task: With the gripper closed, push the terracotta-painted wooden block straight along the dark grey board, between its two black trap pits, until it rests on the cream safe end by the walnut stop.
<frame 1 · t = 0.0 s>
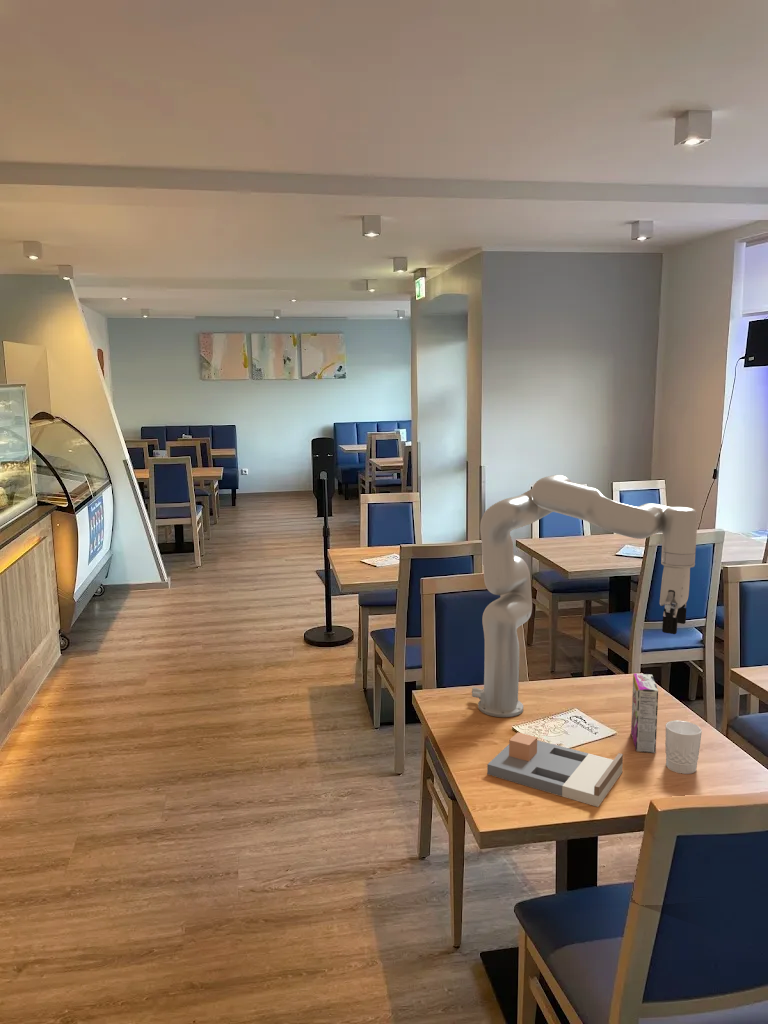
hand: (674, 627, 182), 31 cm above the table, tool pointing down, fingers open, 9 cm apart
candy bar box: (642, 743, 190), on the table
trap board: (554, 773, 175), on the table
block: (522, 754, 179), point 2 cm above the table, touching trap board
white cup: (681, 768, 178), on the table
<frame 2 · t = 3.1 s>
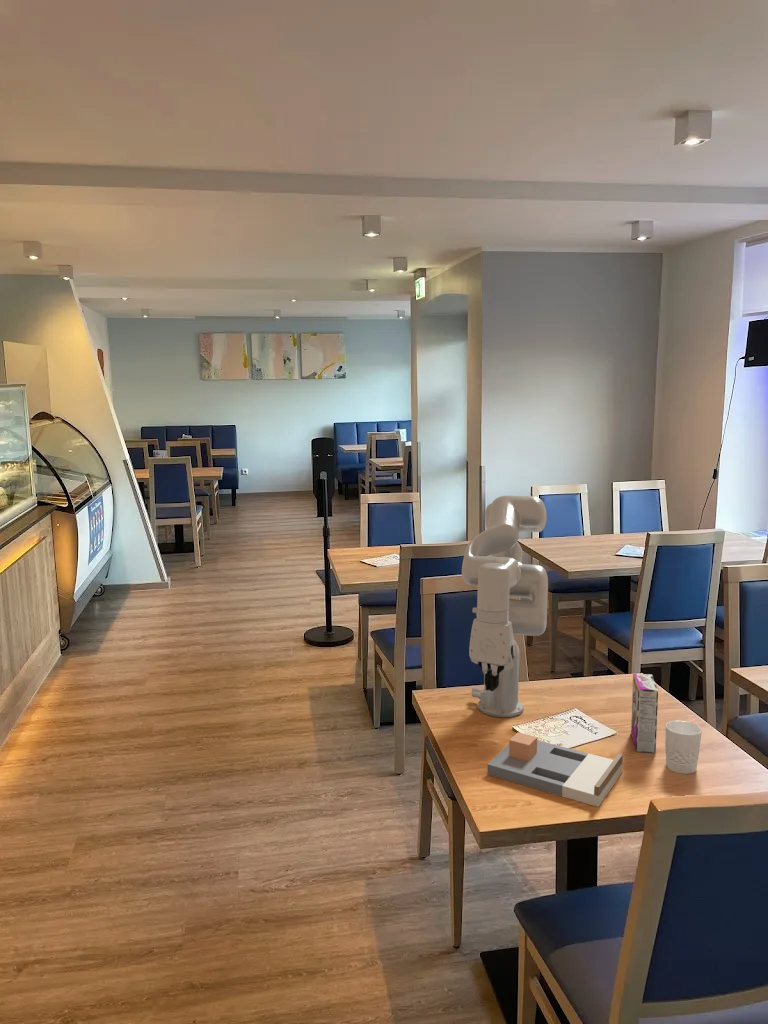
hand: (491, 688, 181), 17 cm above the table, tool pointing down, fingers closed
nothing on the table moved.
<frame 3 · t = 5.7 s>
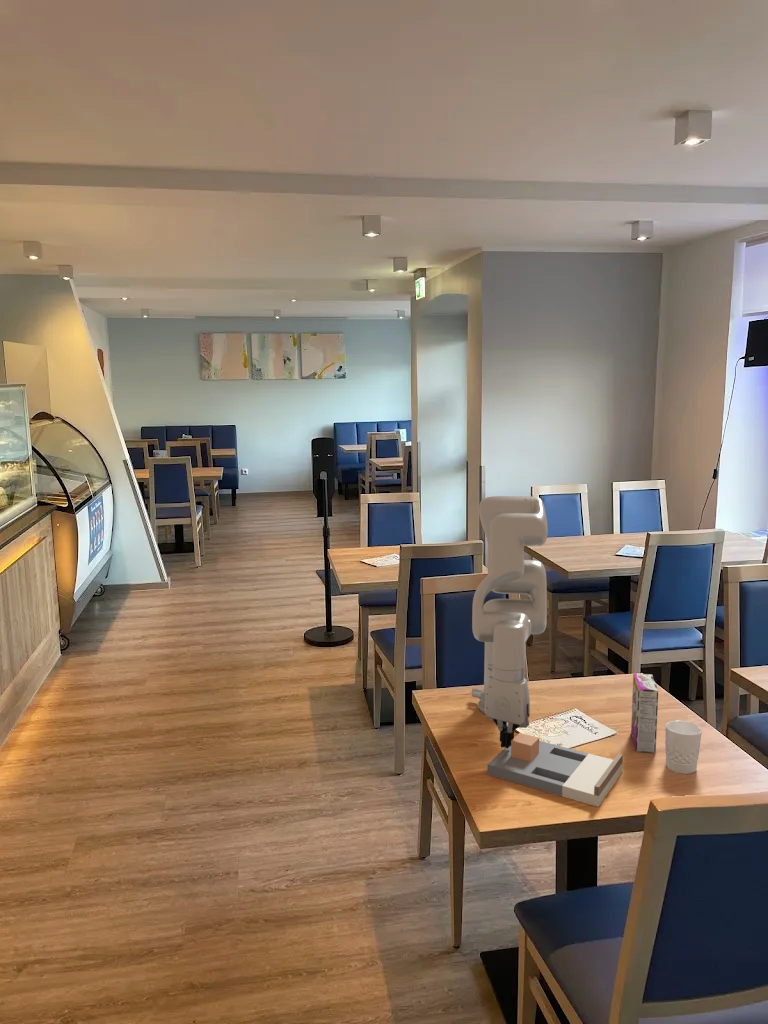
hand: (506, 745, 181), 4 cm above the table, tool pointing down, fingers closed
block: (524, 754, 179), point 2 cm above the table, touching gripper, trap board
everything else where it was.
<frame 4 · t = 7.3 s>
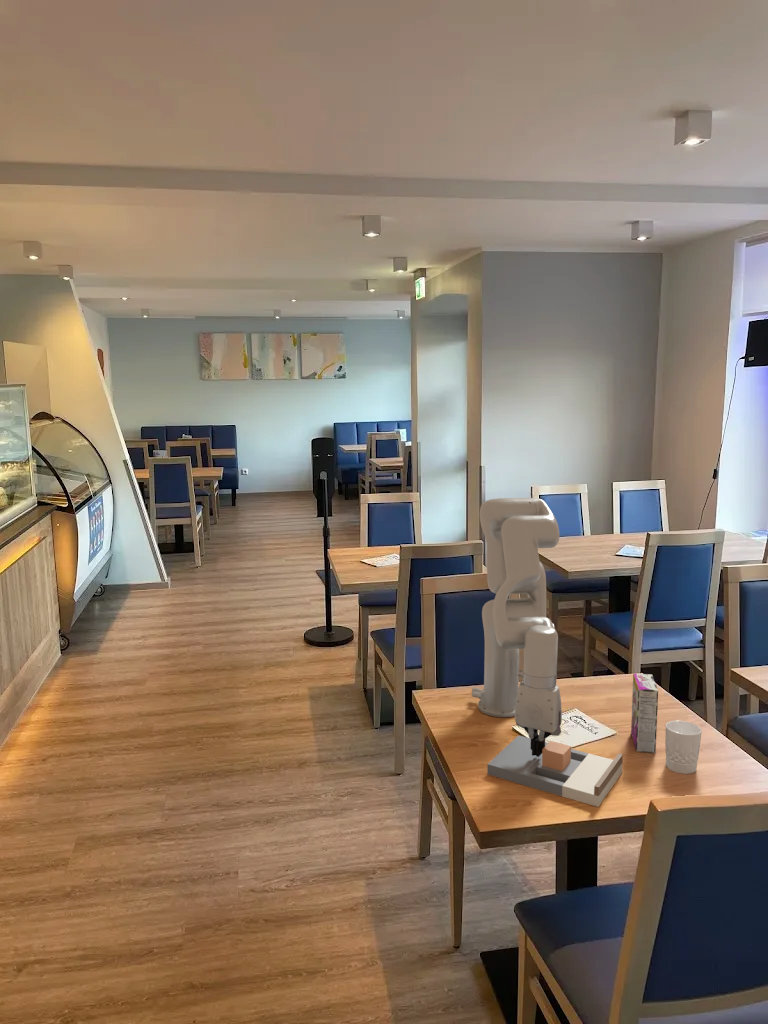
hand: (537, 753, 177), 4 cm above the table, tool pointing down, fingers closed
block: (556, 763, 174), point 3 cm above the table, touching gripper, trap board
everything else where it was.
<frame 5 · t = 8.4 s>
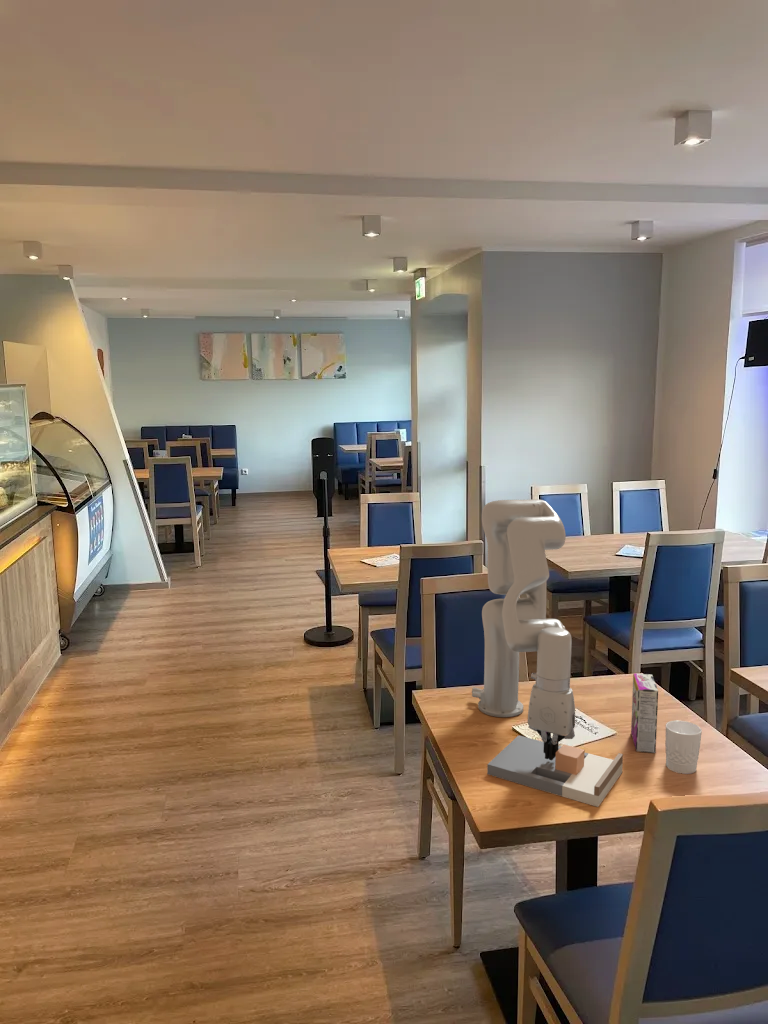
hand: (550, 757, 175), 4 cm above the table, tool pointing down, fingers closed
block: (569, 767, 173), point 3 cm above the table, touching gripper
everything else where it was.
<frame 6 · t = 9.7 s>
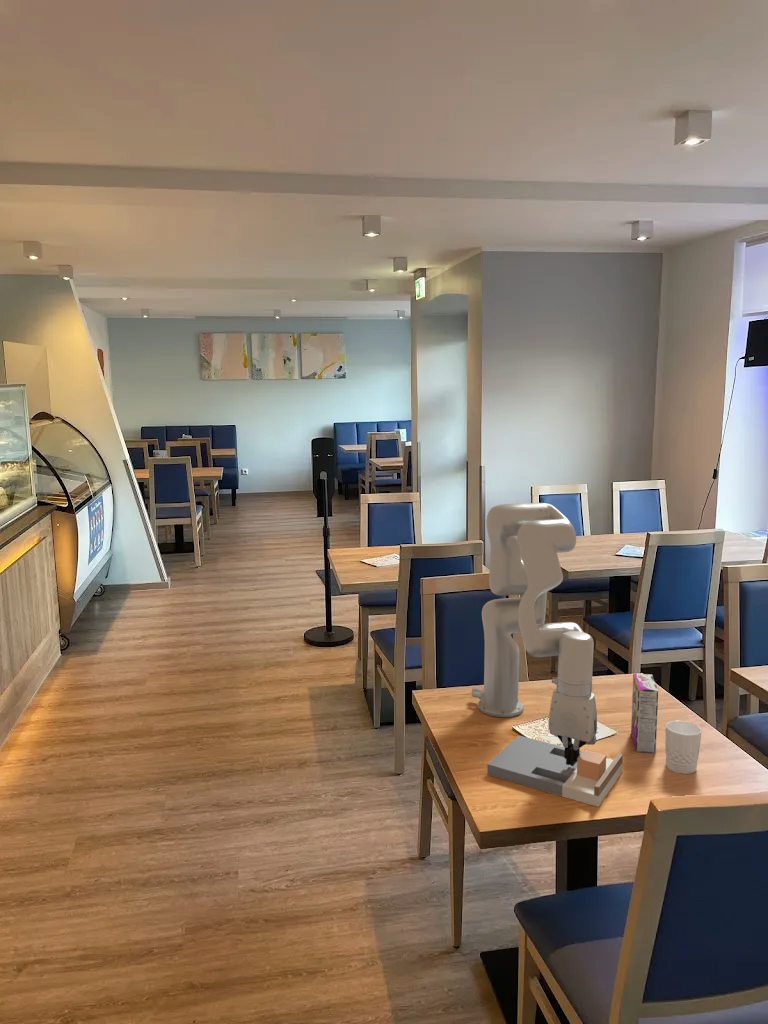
hand: (571, 762, 172), 4 cm above the table, tool pointing down, fingers closed
block: (591, 773, 170), point 2 cm above the table, touching gripper, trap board
everything else where it was.
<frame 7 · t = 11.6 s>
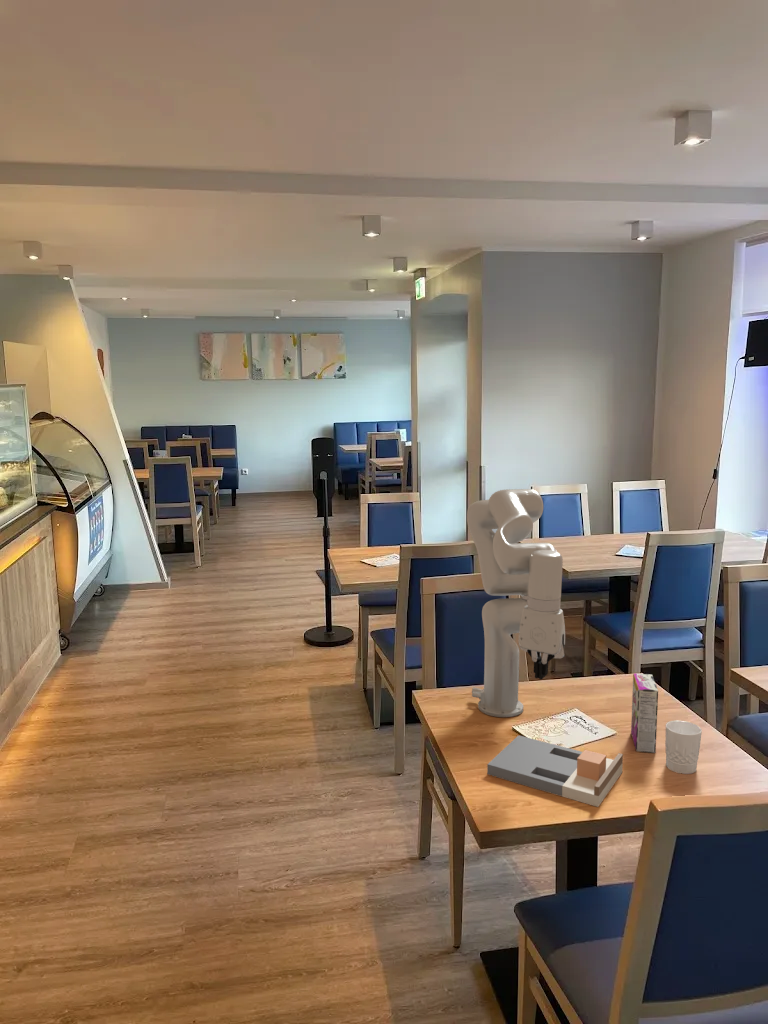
hand: (540, 676, 179), 21 cm above the table, tool pointing down, fingers closed
block: (591, 773, 170), point 2 cm above the table, touching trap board
everything else where it was.
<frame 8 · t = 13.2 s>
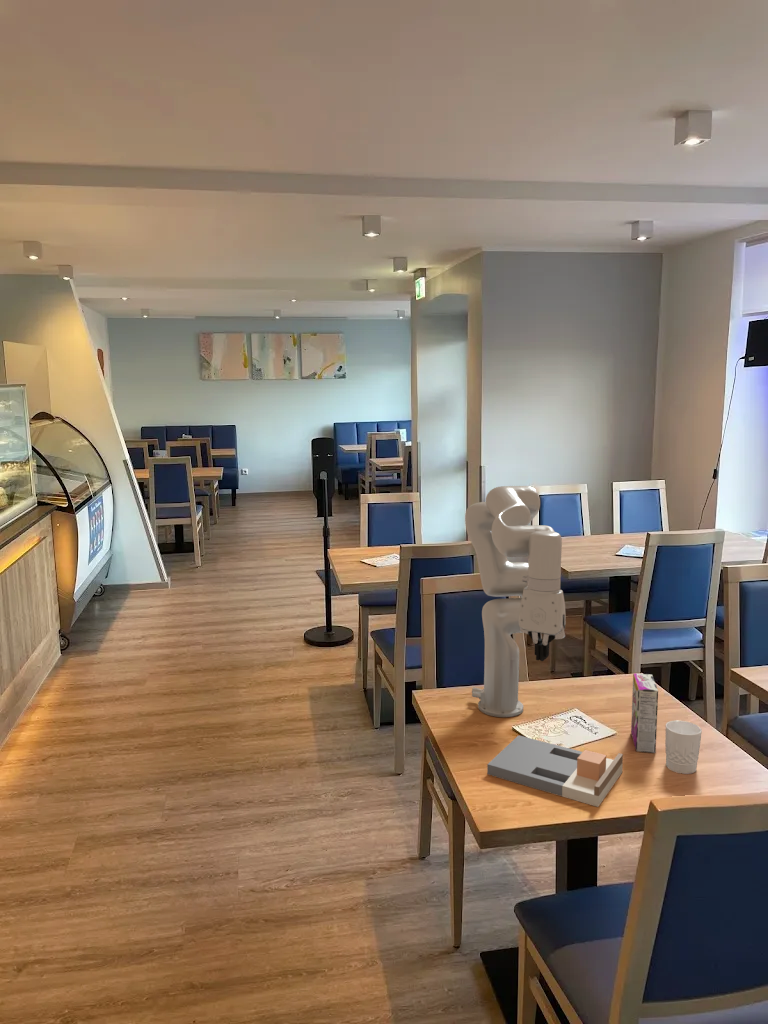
hand: (541, 658, 179), 25 cm above the table, tool pointing down, fingers closed
nothing on the table moved.
at the end: block 0.5 cm from the target spot on the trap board, point 2.5 cm above the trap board's base; block tilted 0° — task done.
